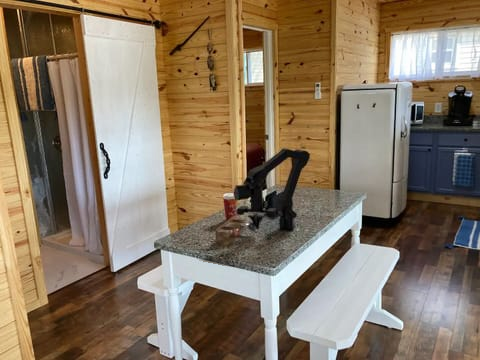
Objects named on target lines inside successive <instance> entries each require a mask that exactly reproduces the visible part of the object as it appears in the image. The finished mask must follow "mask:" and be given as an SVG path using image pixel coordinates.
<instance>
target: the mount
mask: <svg viewBox="0 0 480 360" xmlns="http://www.w3.org/2000/svg"><path fill="white" fill-rule="evenodd" d="M239 223H245V224H247V222H246V218H245V217H239V216H238V217H236V216H234V217H232V218H231V219H230V220H228V221H226V222H224V223H223V224H222V225H220V226H219V227H218V228H216V229H215V243H216V245H224V246H229V245H231V244H232V243H233V242H234V241H236V240H237V238H234V237H233V235H231V232H230V230H234V229H240V234H241V235H242V234H243V233H244V232H245V231H246V230H247V228H240V224H239ZM223 229H224V230H223Z"/></svg>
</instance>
